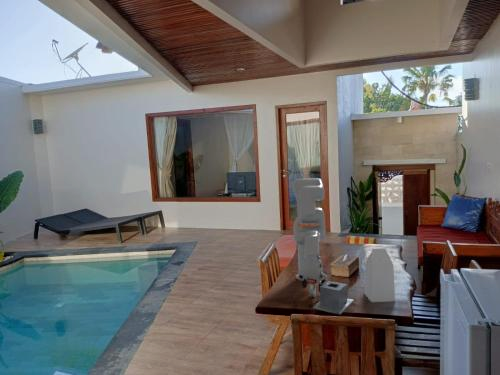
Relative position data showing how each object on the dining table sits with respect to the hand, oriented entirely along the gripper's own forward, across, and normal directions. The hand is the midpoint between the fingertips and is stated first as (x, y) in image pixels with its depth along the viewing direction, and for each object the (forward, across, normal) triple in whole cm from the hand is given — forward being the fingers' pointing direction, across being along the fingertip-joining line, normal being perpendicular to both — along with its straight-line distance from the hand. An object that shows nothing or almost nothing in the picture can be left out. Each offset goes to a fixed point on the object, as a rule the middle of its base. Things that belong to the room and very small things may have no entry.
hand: (312, 289), depth 207 cm
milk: (+4, -30, -16) cm, 34 cm away
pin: (+4, 0, 0) cm, 4 cm away
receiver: (+4, -14, +5) cm, 15 cm away
